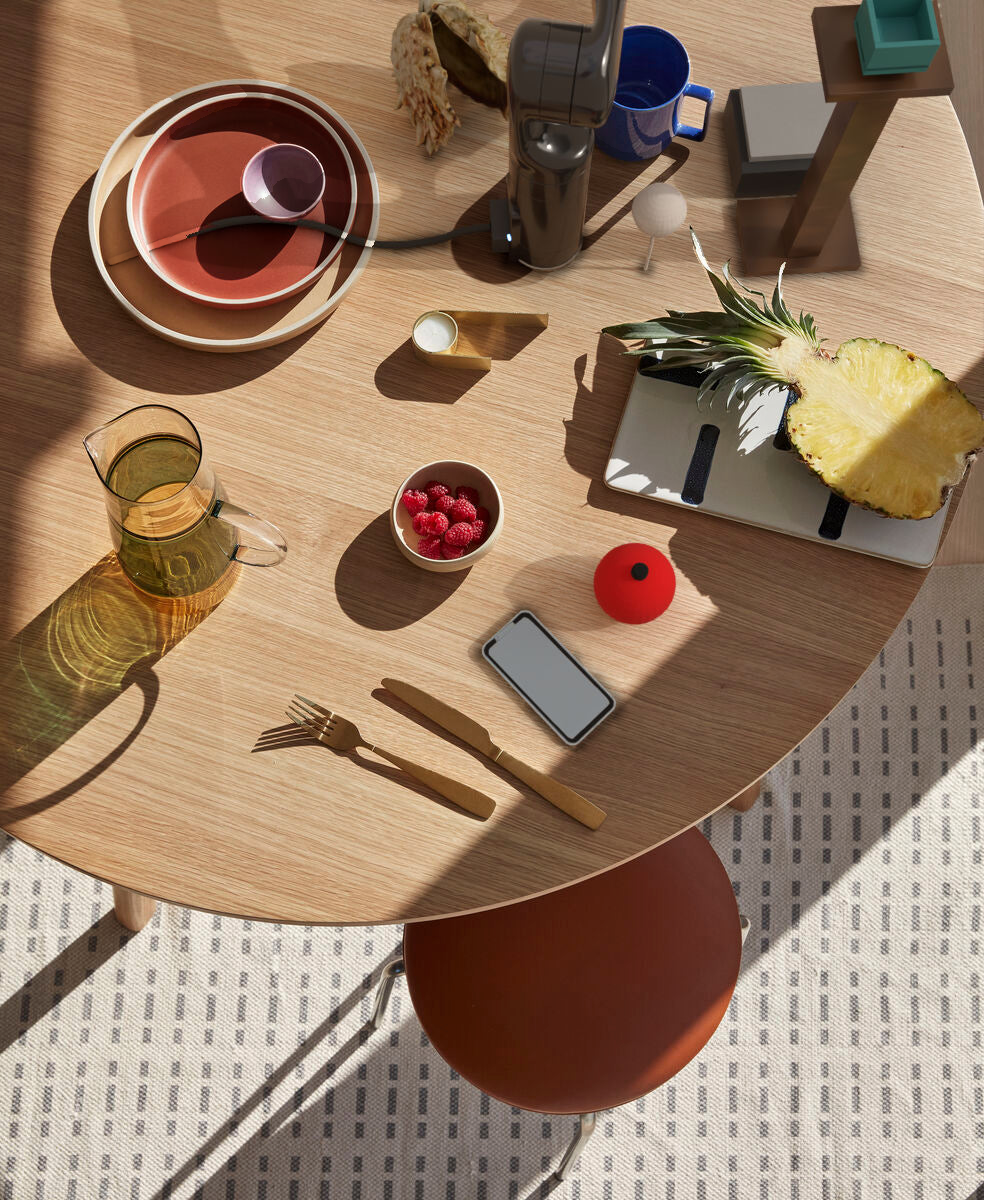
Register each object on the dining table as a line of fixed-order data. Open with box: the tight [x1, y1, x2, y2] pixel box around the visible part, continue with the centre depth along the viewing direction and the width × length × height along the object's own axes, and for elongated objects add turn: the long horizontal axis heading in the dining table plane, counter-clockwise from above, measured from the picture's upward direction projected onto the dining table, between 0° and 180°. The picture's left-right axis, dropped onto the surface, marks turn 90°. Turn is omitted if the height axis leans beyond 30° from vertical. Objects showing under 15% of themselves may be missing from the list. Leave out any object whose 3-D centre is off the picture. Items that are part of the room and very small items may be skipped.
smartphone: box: [481, 609, 617, 747], centre depth 122 cm, size 7×1×15 cm
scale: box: [721, 81, 837, 199], centre depth 136 cm, size 14×12×6 cm
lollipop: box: [631, 182, 688, 271], centre depth 128 cm, size 6×6×15 cm
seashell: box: [389, 0, 510, 156], centre depth 133 cm, size 18×18×15 cm
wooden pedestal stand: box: [734, 0, 956, 278], centre depth 121 cm, size 14×10×32 cm
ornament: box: [592, 542, 677, 626], centre depth 120 cm, size 9×9×10 cm
